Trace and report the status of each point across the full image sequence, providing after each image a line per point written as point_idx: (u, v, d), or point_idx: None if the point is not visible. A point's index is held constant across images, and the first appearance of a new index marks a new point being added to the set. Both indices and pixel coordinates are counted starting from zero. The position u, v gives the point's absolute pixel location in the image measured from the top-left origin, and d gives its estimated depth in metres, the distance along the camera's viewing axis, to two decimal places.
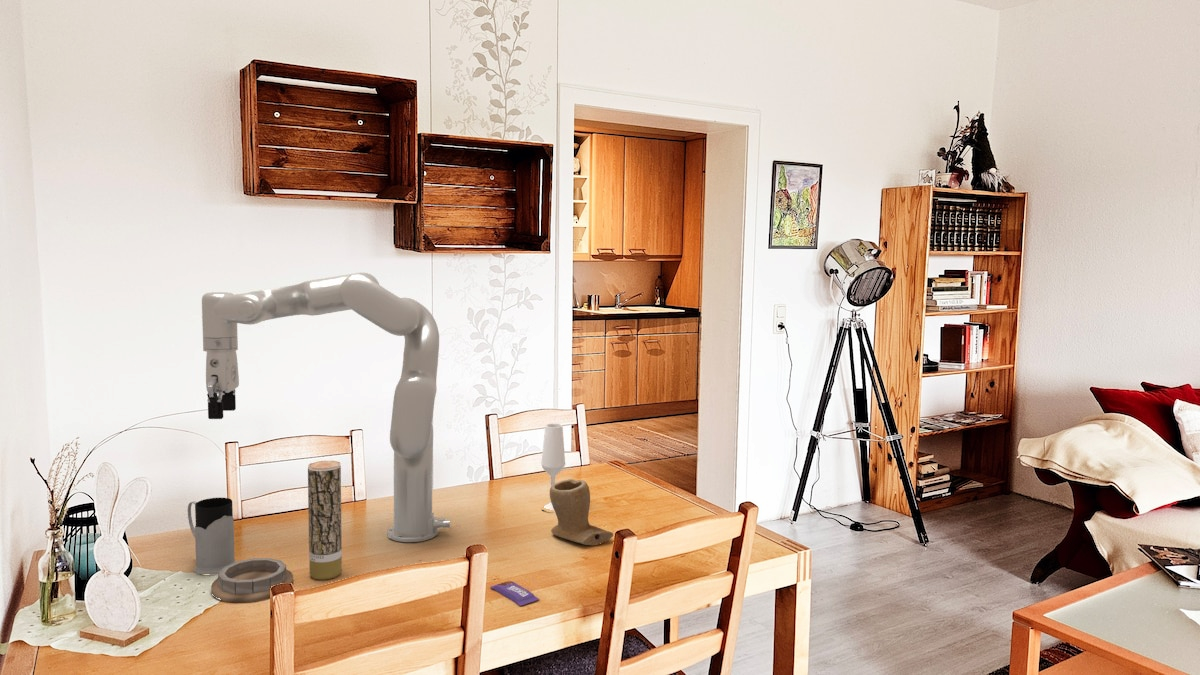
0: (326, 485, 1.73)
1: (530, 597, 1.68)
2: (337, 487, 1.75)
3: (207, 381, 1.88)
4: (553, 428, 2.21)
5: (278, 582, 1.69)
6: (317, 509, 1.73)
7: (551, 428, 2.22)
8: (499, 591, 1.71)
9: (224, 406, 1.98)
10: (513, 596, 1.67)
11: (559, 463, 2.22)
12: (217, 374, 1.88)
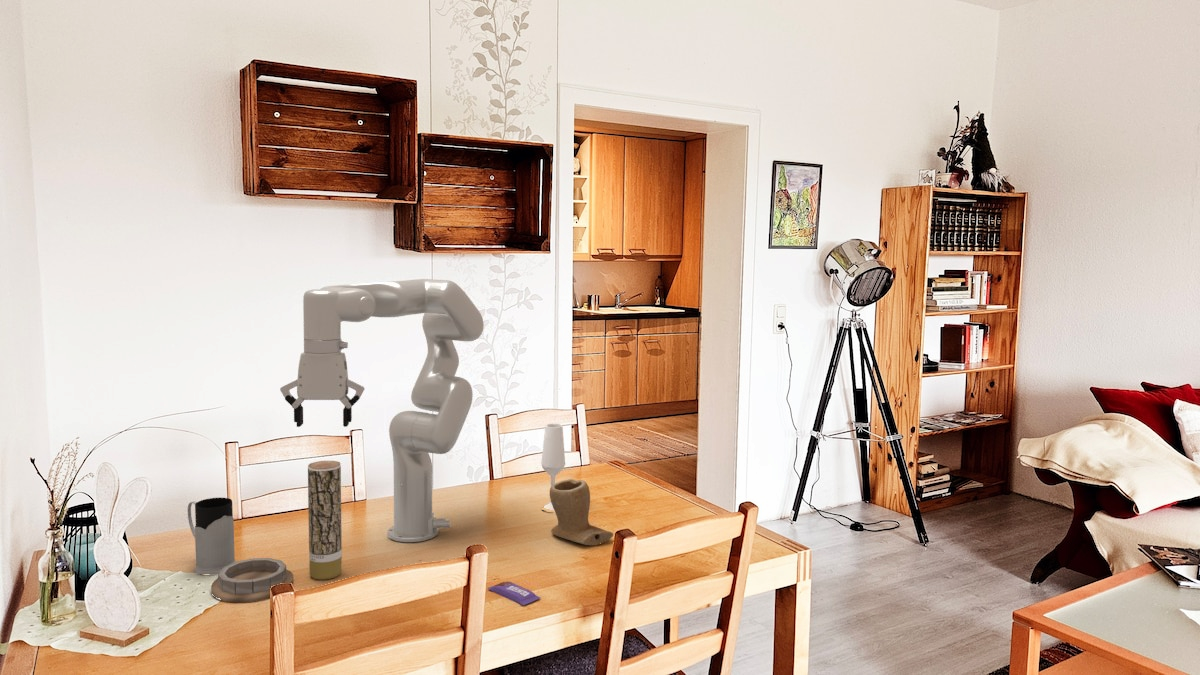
0: (326, 485, 1.73)
1: (531, 596, 1.68)
2: (337, 487, 1.75)
3: (345, 386, 1.73)
4: (553, 428, 2.21)
5: (278, 582, 1.69)
6: (317, 509, 1.73)
7: (551, 428, 2.22)
8: (498, 592, 1.70)
9: (300, 421, 1.73)
10: (515, 596, 1.67)
11: (559, 463, 2.22)
12: (347, 376, 1.75)
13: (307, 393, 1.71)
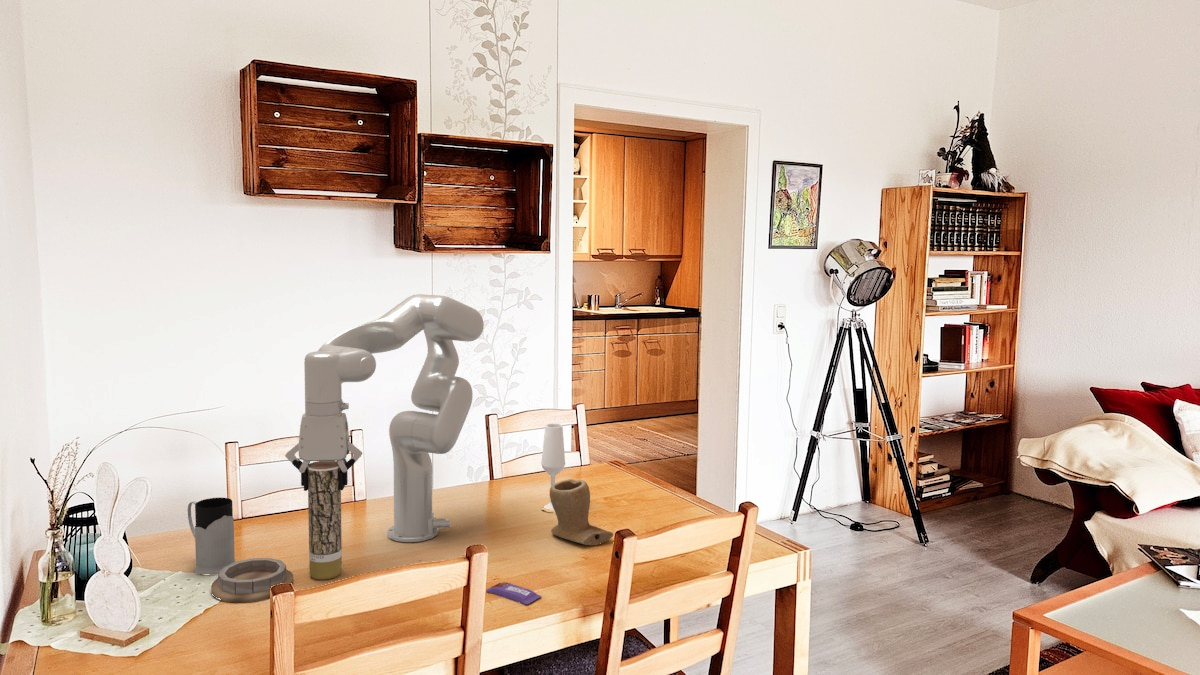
0: (326, 485, 1.73)
1: (532, 595, 1.69)
2: (337, 487, 1.75)
3: (346, 447, 1.74)
4: (553, 428, 2.21)
5: (278, 582, 1.69)
6: (317, 509, 1.73)
7: (551, 428, 2.22)
8: (497, 593, 1.70)
9: (307, 485, 1.75)
10: (516, 596, 1.67)
11: (559, 463, 2.22)
12: (348, 438, 1.76)
13: (308, 454, 1.73)
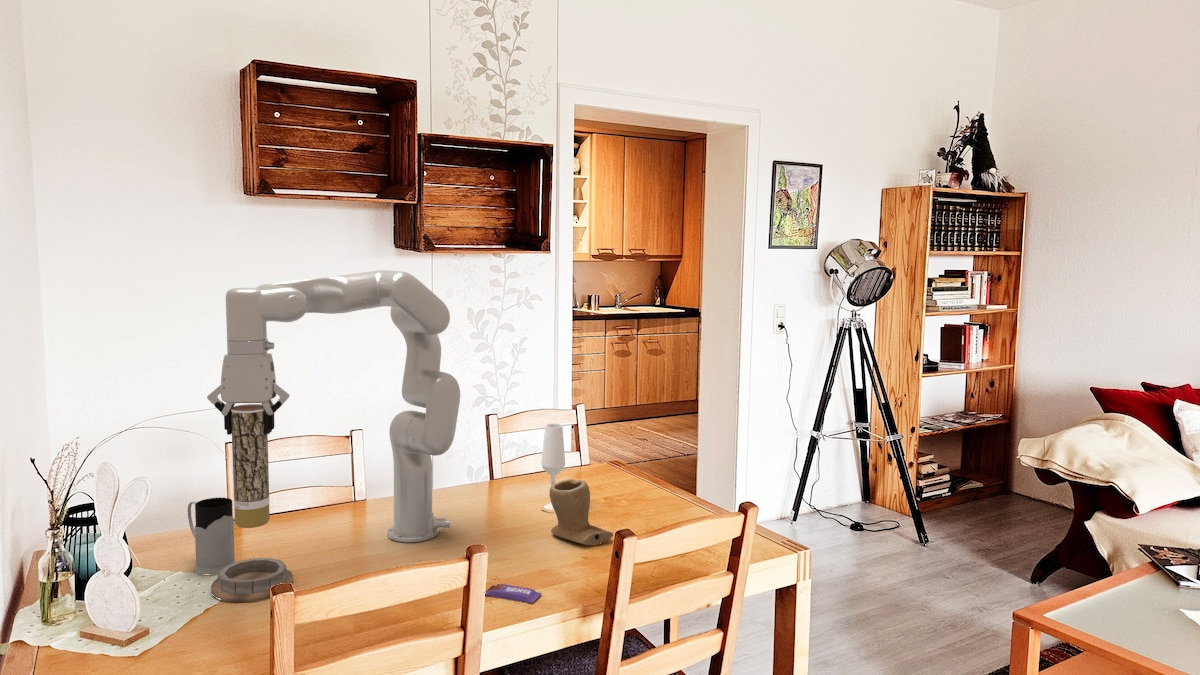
0: (249, 428, 1.64)
1: (533, 593, 1.69)
2: (263, 431, 1.66)
3: (271, 388, 1.66)
4: (553, 428, 2.21)
5: (278, 582, 1.69)
6: (240, 453, 1.65)
7: (551, 428, 2.22)
8: (497, 595, 1.69)
9: (231, 428, 1.66)
10: (520, 596, 1.67)
11: (559, 463, 2.22)
12: (274, 380, 1.68)
13: (231, 396, 1.64)
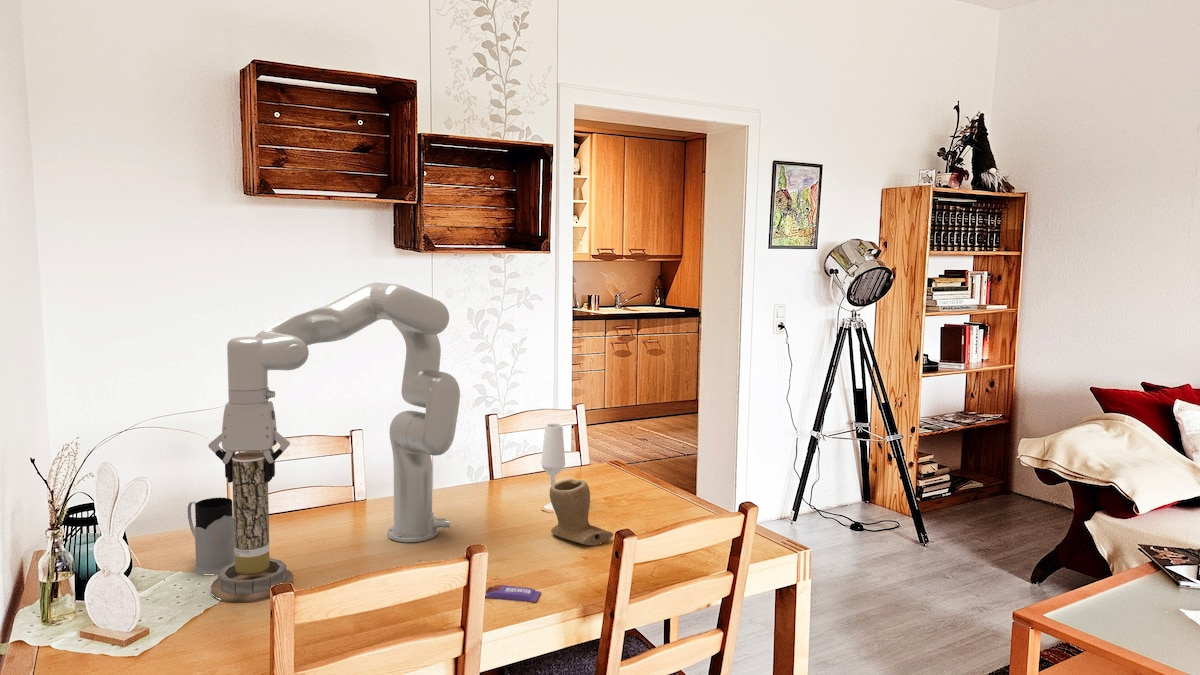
0: (250, 476, 1.65)
1: (533, 592, 1.70)
2: (263, 479, 1.68)
3: (272, 437, 1.67)
4: (553, 428, 2.21)
5: (278, 582, 1.69)
6: (241, 501, 1.66)
7: (551, 428, 2.22)
8: (498, 597, 1.68)
9: None
10: (521, 596, 1.67)
11: (559, 463, 2.22)
12: (275, 428, 1.69)
13: (232, 445, 1.65)
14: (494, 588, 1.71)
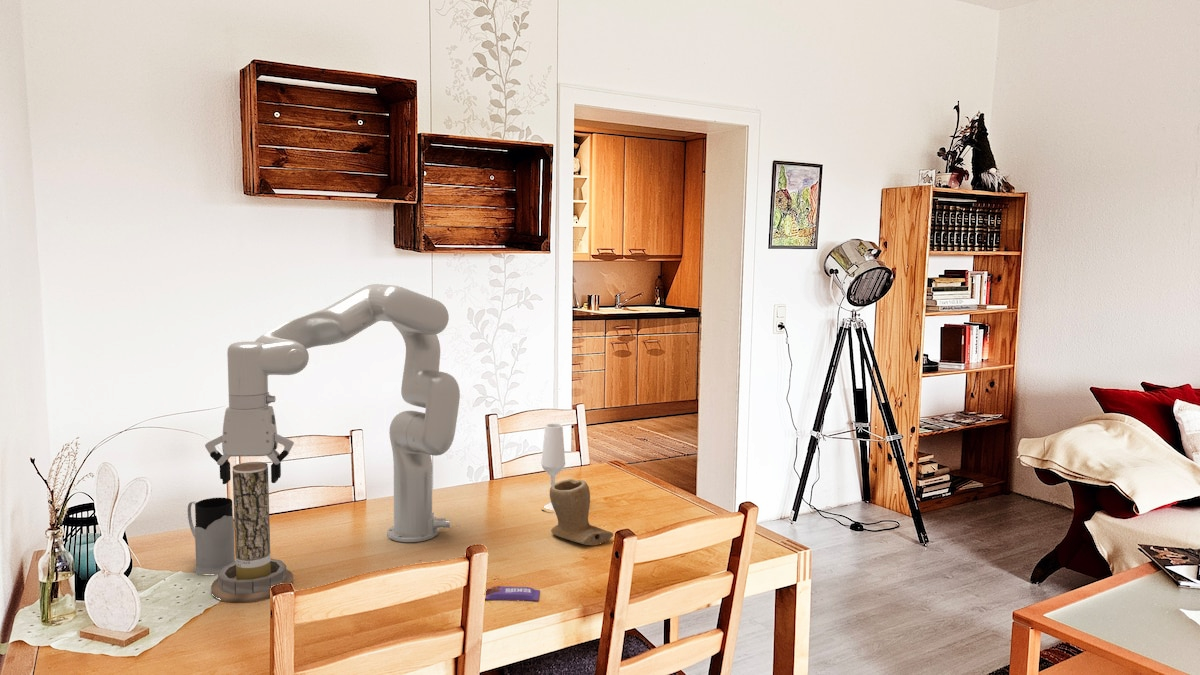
0: (251, 487, 1.66)
1: (533, 591, 1.71)
2: (264, 490, 1.68)
3: (272, 441, 1.67)
4: (553, 428, 2.21)
5: (278, 582, 1.69)
6: (242, 512, 1.66)
7: (551, 428, 2.22)
8: (499, 598, 1.68)
9: (227, 478, 1.67)
10: (523, 595, 1.68)
11: (559, 463, 2.22)
12: (275, 431, 1.69)
13: (232, 449, 1.65)
14: (493, 590, 1.70)
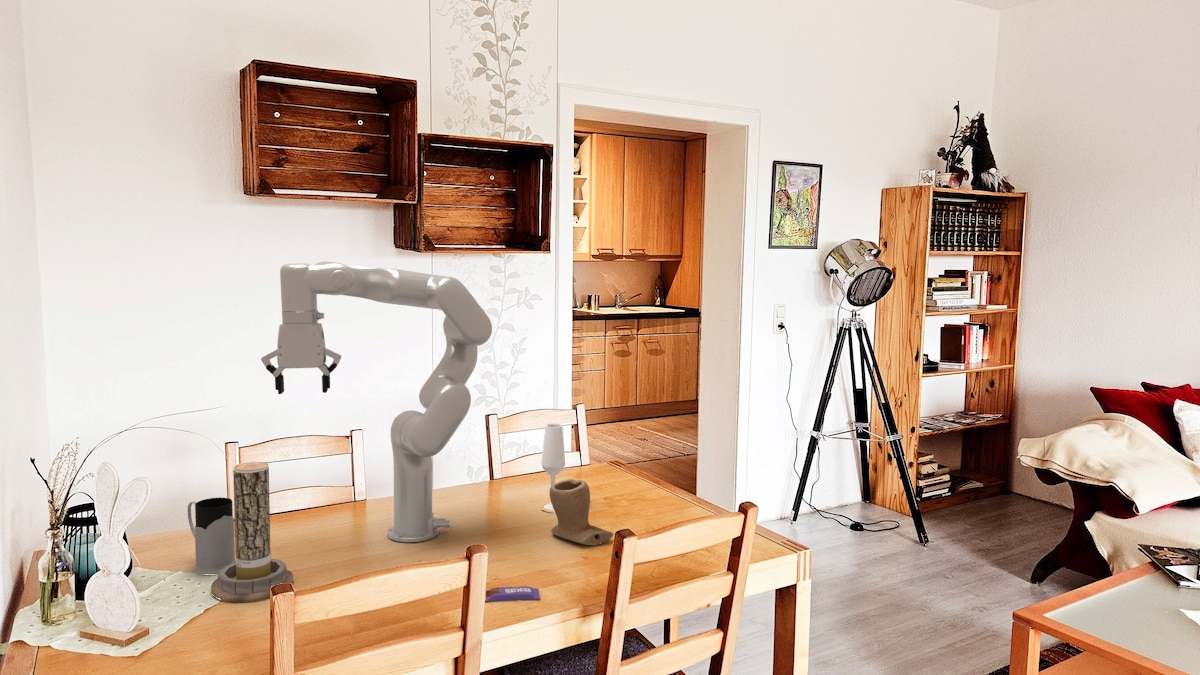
0: (252, 487, 1.66)
1: (532, 590, 1.71)
2: (265, 490, 1.68)
3: (323, 354, 1.83)
4: (553, 428, 2.21)
5: (278, 582, 1.69)
6: (242, 512, 1.66)
7: (551, 428, 2.22)
8: (500, 599, 1.67)
9: (281, 389, 1.83)
10: (524, 595, 1.68)
11: (559, 463, 2.22)
12: (324, 345, 1.85)
13: (287, 362, 1.81)
14: (493, 591, 1.69)
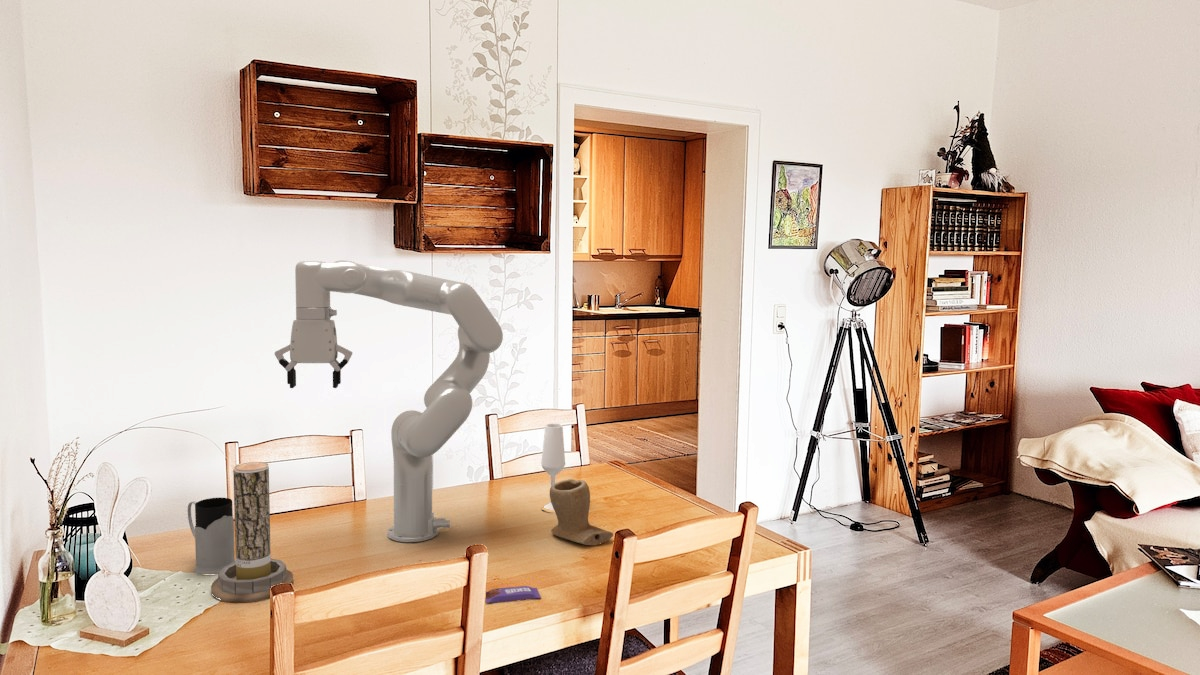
0: (252, 487, 1.66)
1: (532, 589, 1.71)
2: (265, 490, 1.68)
3: (334, 350, 1.87)
4: (553, 428, 2.21)
5: (278, 582, 1.69)
6: (242, 512, 1.66)
7: (551, 428, 2.22)
8: (501, 600, 1.67)
9: (293, 383, 1.87)
10: (525, 595, 1.68)
11: (559, 463, 2.22)
12: (336, 342, 1.89)
13: (299, 357, 1.85)
14: (493, 592, 1.68)
